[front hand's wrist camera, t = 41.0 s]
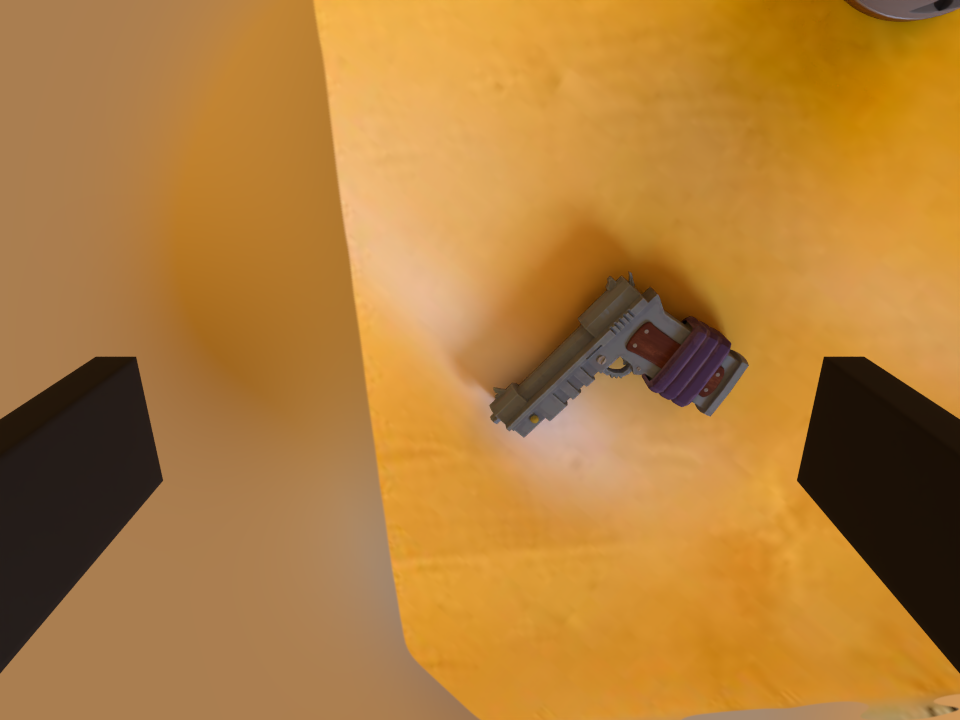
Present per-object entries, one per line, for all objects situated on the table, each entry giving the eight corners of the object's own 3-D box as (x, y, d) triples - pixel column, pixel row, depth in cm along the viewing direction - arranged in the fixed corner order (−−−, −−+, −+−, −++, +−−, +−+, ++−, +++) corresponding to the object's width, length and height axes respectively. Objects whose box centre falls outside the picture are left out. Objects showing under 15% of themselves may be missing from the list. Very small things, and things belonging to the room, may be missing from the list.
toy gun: (592, 491, 61) (476, 396, 57) (746, 358, 55) (629, 243, 52) (599, 516, 57) (475, 415, 53) (764, 375, 52) (640, 253, 48)
